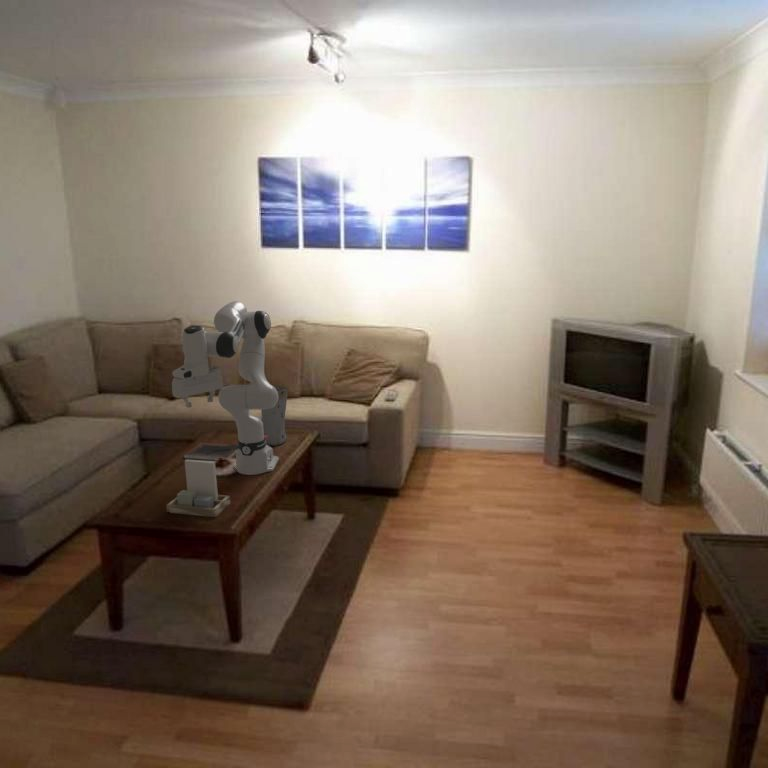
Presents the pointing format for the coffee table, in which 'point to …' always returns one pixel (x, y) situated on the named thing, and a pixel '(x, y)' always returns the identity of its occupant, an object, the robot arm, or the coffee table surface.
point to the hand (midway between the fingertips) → (199, 404)
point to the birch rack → (200, 511)
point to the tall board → (201, 477)
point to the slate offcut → (204, 501)
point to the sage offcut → (186, 498)
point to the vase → (275, 419)
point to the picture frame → (212, 451)
